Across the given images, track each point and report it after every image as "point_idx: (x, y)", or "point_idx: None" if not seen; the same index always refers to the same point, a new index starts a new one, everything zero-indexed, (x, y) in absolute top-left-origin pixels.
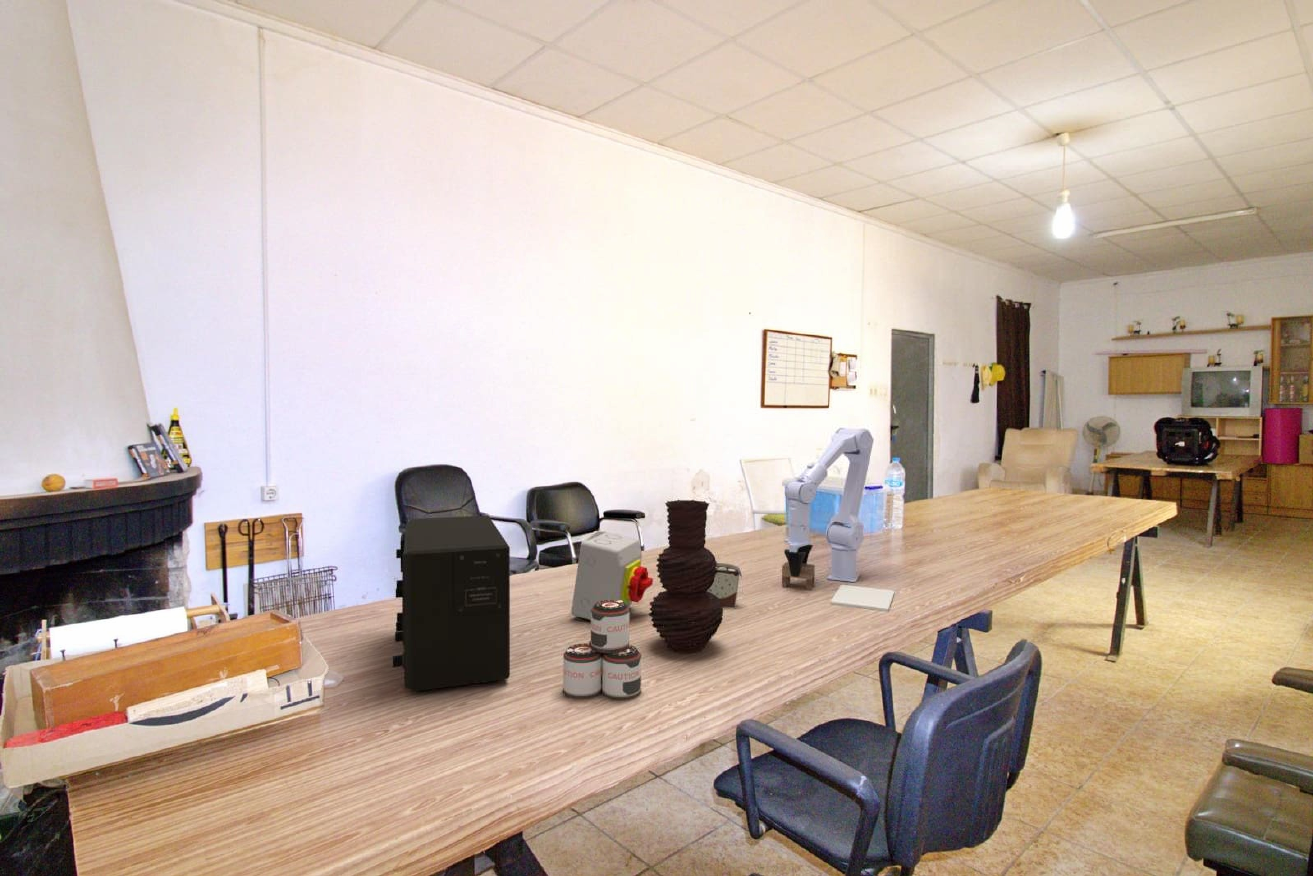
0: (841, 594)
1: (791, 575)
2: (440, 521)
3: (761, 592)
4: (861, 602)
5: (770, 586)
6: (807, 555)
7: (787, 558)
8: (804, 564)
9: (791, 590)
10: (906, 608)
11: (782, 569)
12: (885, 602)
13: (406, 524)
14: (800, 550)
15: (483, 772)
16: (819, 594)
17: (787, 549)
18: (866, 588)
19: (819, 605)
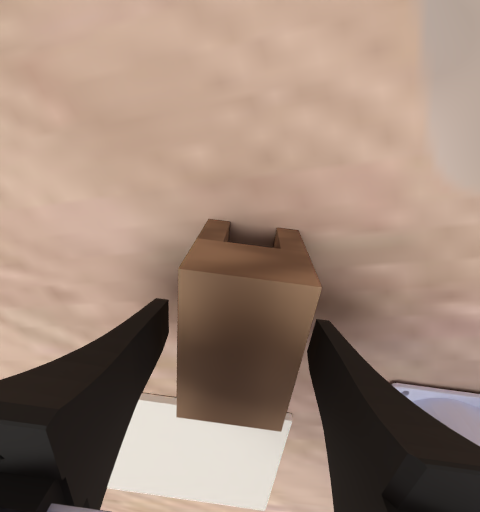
0: (163, 416)
1: (153, 300)
2: None
3: (60, 129)
4: None
5: (198, 159)
6: (329, 458)
7: (49, 365)
8: (269, 390)
9: (170, 264)
10: (137, 503)
11: (185, 258)
12: (138, 487)
13: None
14: (358, 465)
15: None
16: (162, 356)
17: (45, 444)
18: (266, 469)
19: (32, 357)
